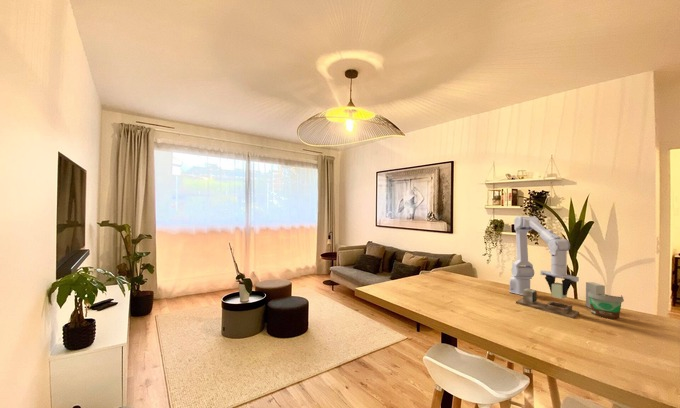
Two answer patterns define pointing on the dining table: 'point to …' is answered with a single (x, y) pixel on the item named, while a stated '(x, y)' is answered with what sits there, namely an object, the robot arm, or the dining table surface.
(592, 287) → the skincare box
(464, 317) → the dining table surface
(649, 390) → the dining table surface
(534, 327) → the dining table surface
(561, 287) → the green block
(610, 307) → the food container
